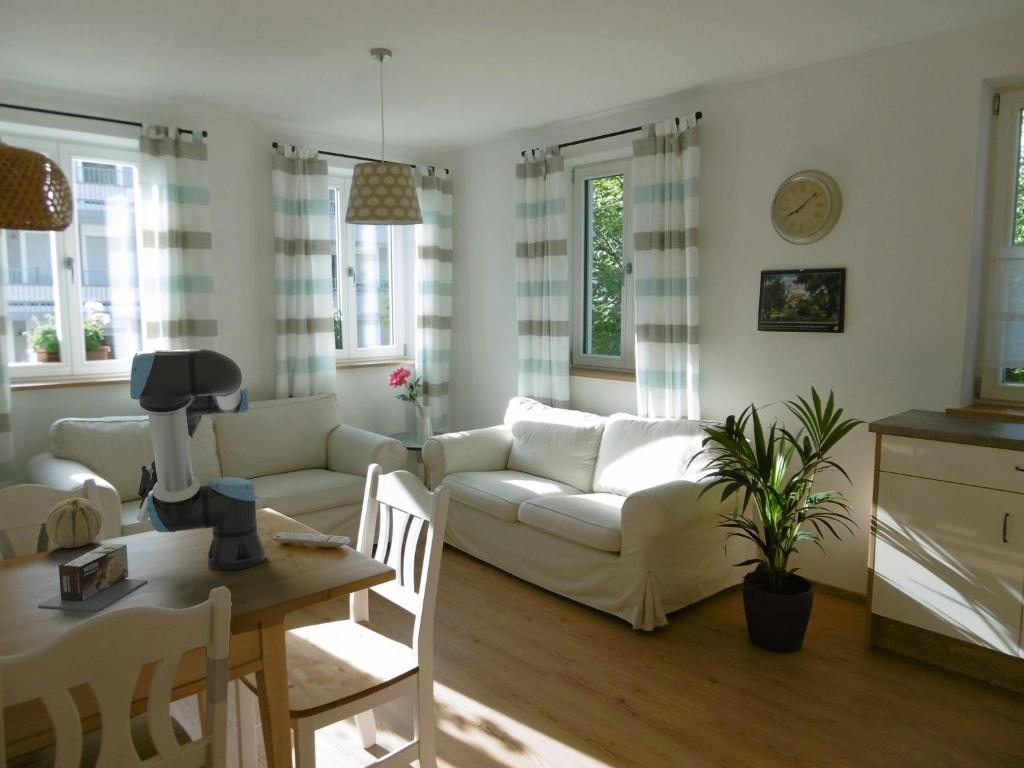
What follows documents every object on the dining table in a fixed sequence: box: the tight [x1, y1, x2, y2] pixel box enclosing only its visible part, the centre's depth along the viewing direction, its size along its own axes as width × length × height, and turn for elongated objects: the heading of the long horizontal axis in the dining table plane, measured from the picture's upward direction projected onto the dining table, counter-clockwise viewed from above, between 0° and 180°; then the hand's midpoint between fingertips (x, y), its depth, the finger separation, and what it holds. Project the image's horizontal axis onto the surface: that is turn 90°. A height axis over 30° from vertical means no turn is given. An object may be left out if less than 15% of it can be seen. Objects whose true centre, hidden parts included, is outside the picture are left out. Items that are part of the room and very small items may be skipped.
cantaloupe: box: [45, 497, 103, 549], centre depth 218 cm, size 15×15×15 cm
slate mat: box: [37, 578, 148, 612], centre depth 182 cm, size 16×18×1 cm
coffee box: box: [58, 542, 129, 601], centre depth 184 cm, size 9×6×16 cm
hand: (141, 520), depth 201 cm, fingers closed
